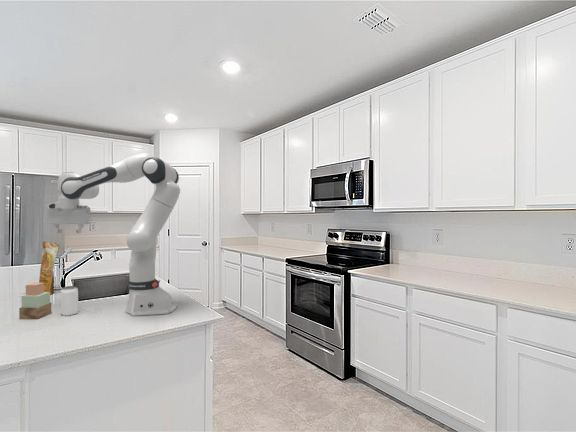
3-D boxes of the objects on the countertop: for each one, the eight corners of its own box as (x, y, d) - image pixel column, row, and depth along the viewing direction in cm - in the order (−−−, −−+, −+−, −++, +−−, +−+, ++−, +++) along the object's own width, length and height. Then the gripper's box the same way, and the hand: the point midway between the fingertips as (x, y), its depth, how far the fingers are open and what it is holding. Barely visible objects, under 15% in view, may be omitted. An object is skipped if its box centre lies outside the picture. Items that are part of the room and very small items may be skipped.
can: (65, 317, 144) (65, 289, 143) (58, 314, 147) (58, 287, 147) (81, 313, 149) (80, 286, 149) (73, 310, 153) (73, 285, 152)
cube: (43, 292, 146) (43, 282, 146) (36, 295, 142) (36, 285, 142) (33, 292, 146) (33, 282, 146) (25, 295, 142) (25, 285, 142)
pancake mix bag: (49, 288, 192) (48, 240, 192) (60, 293, 181) (60, 243, 180) (35, 290, 187) (34, 241, 186) (46, 296, 175) (45, 244, 174)
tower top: (49, 303, 148) (49, 292, 148) (37, 307, 141) (37, 296, 141) (34, 302, 148) (34, 291, 148) (21, 307, 141) (21, 296, 141)
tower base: (51, 313, 149) (51, 302, 149) (38, 319, 141) (38, 308, 141) (33, 313, 148) (33, 302, 148) (19, 319, 140) (19, 308, 140)
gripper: (93, 205, 166) (93, 232, 166) (52, 205, 165) (52, 232, 165) (86, 205, 159) (86, 233, 160) (43, 205, 159) (43, 233, 159)
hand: (68, 233), depth 163 cm, fingers open, 8 cm apart
